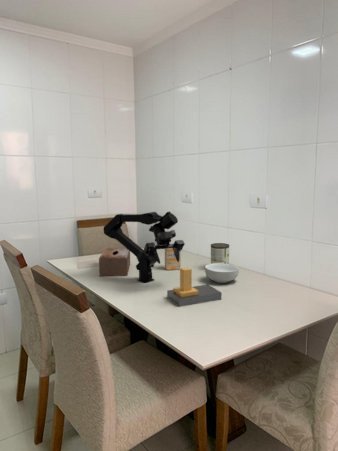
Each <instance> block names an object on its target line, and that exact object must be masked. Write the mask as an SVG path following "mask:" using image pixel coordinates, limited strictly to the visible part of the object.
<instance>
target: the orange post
mask: <svg viewBox="0 0 338 451" xmlns="http://www.w3.org/2000/svg"><path fill="white" fill-rule="evenodd" d="M192 276H193V275H192V269H191V267H181V268H180V269H179V286H177V287H173V288H172V290H173V291H174V292H175V293H176V295H178V296H181V297H185V296H191V295H198V294H199V291H198V290H196V289H195V288H193V287H194V286H193V285H192Z"/></svg>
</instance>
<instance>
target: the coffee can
mask: <svg viewBox="0 0 338 451" xmlns="http://www.w3.org/2000/svg"><path fill="white" fill-rule="evenodd" d="M214 263H224V264H230V244H228V243H223V242H215V243H214V242H213V243H211V244H210V264H214Z"/></svg>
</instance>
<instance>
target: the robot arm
mask: <svg viewBox="0 0 338 451" xmlns="http://www.w3.org/2000/svg"><path fill="white" fill-rule="evenodd" d="M178 222H179V221H178V218H177V216H176V215H175V214H173V213H172V212H171V211H167V212H165V214H163V215H159V214H158V212H157V211H151V212H150V211H149V212H145V213H135V214H134V213H133V214H132V213H117V214H115V215H114V216H113V218H112V219H111V220H110V221H108V223H107V224H105V225H104V226H103V234H104V235H105V236H107V237H108V238H110V239H113V240H116V241H117V242H118V243H120V244H121V245H122V246H123V247H124V248H127V249H128V250H129V251H130V253H132V254H133V255H134V256H135V258H136V259H137V261H138V263H137V264H136V265H135V268H136V270H137V271H138V278H137V279H136V281H139V282H141V283H144V284H146V283H149V282H152V281H155V278H153V269H152V268H154V266H155V264H156V263H158V264H161V259H160V256H159V253H158V251H157V250H165V249H168V248H173V250H174V255H175V257H176V260H177V261H178V262H179V252H180V251H182V250H183V249H184V246H185V245H186V243H185V242H184V240H182V239H178V240H174V242H173V243H171V242H172V239H174V238H175V237H176V236H177V234H176V233H177V232H176V231H175V229H171V228H172V227H174V226H175V225H176V224H178ZM124 223H140V224H143V225H144V224H145V225H148V226H149V225H150V227H149V229H148V231H149V232H152V233H153V235H154V242H153V241H152V242H146V243H145V245H144V248H142V247H141V246H139V245H138V244H137V243H136V242H135V241H134V240H133V239H132V238H130V237H128V235H126V234H125V233H124V232H123V229H122V228H121V227H122V226H123V224H124ZM170 229H171V230H170ZM166 230H167V231H166ZM169 230H170V231H169Z"/></svg>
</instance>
